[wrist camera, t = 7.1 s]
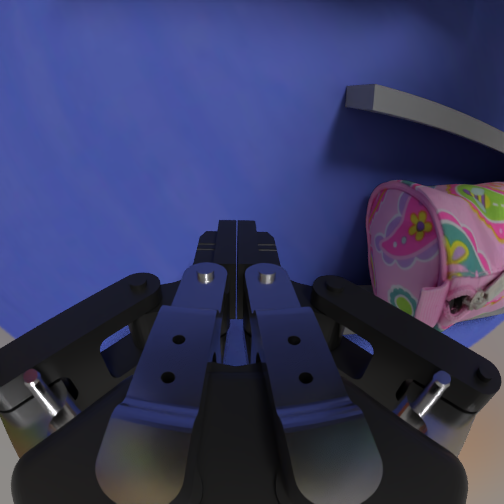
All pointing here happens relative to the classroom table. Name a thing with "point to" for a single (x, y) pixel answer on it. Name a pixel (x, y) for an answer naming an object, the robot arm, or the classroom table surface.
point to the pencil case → (437, 249)
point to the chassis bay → (425, 114)
